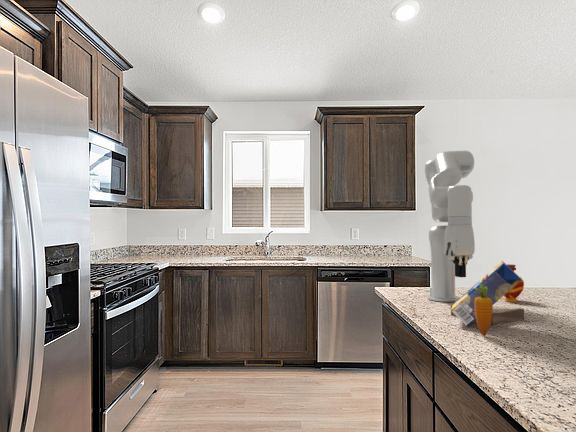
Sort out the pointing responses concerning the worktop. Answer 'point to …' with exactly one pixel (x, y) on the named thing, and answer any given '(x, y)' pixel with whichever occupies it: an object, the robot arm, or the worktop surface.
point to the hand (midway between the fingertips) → (460, 276)
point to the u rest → (504, 316)
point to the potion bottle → (514, 288)
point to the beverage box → (498, 286)
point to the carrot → (483, 310)
